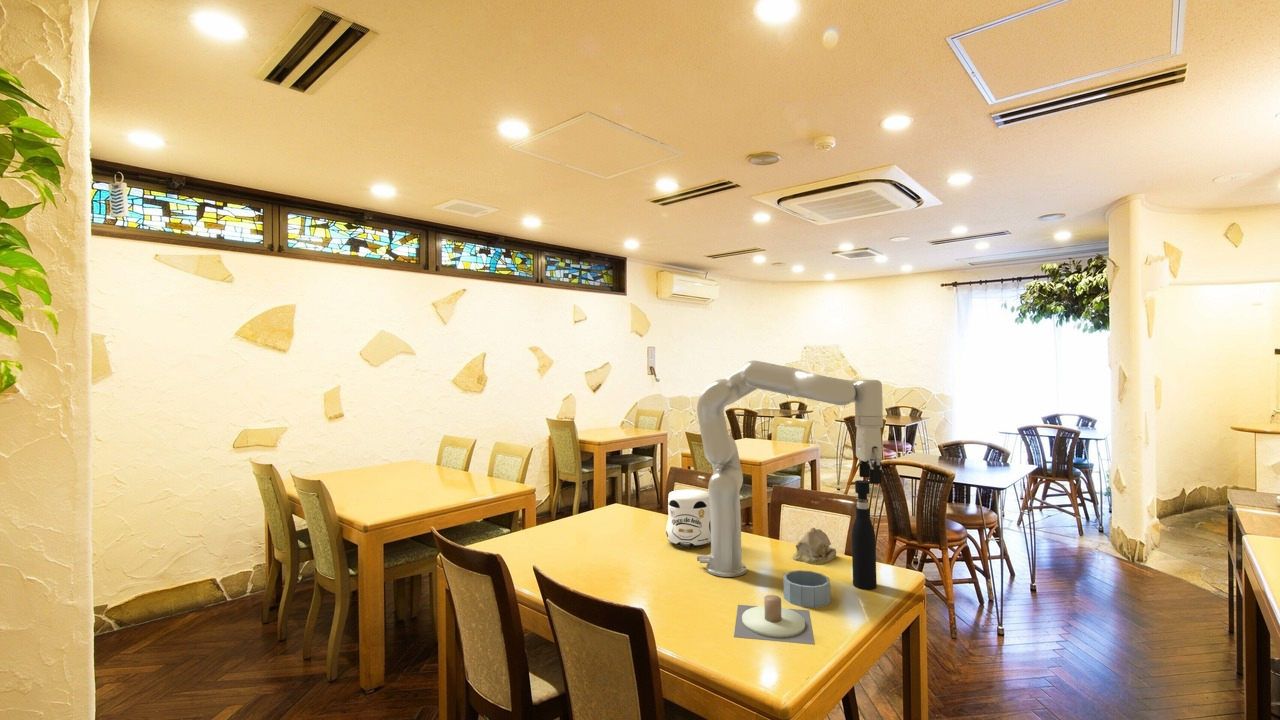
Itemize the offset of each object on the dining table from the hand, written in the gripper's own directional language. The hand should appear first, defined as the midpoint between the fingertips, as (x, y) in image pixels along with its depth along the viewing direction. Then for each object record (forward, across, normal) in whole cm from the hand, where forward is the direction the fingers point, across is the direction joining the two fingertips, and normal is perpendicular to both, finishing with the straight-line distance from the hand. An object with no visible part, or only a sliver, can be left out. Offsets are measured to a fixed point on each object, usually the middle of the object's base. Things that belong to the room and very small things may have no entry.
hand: (870, 480), depth 161 cm
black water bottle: (+30, +2, -3) cm, 30 cm away
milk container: (+31, -35, -54) cm, 71 cm away
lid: (+29, +29, -32) cm, 53 cm away
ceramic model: (+31, -22, -12) cm, 39 cm away
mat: (+30, +29, -32) cm, 53 cm away
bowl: (+30, +14, -21) cm, 39 cm away
